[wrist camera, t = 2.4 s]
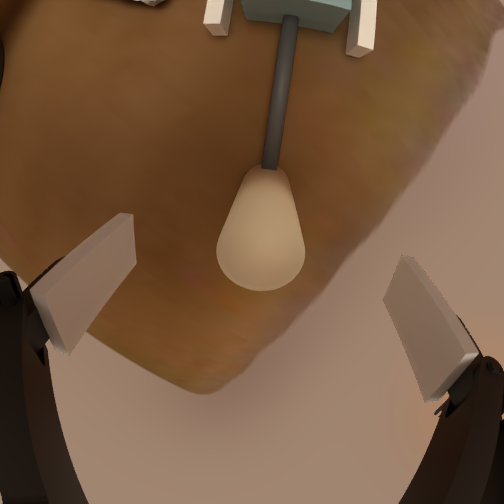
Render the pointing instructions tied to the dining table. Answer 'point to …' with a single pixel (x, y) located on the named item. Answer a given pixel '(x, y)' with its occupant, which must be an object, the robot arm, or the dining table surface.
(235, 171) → the dining table surface
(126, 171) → the dining table surface
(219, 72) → the dining table surface
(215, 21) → the white u-shaped bracket
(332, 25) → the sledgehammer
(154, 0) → the egg carton
